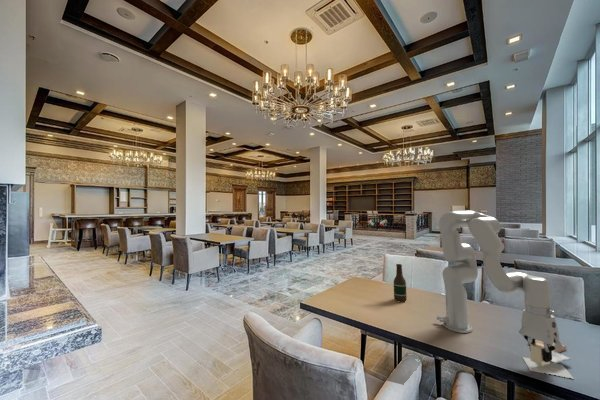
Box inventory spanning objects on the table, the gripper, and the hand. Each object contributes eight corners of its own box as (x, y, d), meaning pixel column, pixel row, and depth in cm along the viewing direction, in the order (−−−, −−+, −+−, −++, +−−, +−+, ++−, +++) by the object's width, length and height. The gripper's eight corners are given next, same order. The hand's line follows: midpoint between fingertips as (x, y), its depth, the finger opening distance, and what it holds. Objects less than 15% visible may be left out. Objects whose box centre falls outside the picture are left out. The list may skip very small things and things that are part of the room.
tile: (553, 350, 106) (566, 345, 109) (528, 339, 114) (540, 335, 117) (553, 355, 106) (566, 350, 109) (528, 344, 114) (540, 340, 117)
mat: (530, 370, 96) (530, 369, 96) (522, 357, 104) (522, 357, 104) (574, 379, 91) (574, 378, 91) (562, 365, 99) (562, 364, 99)
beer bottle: (394, 302, 167) (392, 265, 168) (394, 298, 174) (392, 262, 175) (406, 303, 164) (405, 266, 165) (406, 299, 172) (405, 263, 172)
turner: (545, 367, 94) (544, 350, 94) (527, 359, 99) (527, 343, 100) (571, 360, 99) (570, 344, 99) (552, 353, 104) (552, 338, 104)
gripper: (571, 316, 92) (575, 368, 91) (519, 301, 107) (522, 345, 107) (558, 319, 89) (562, 373, 88) (507, 303, 105) (510, 349, 104)
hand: (540, 357), depth 97 cm, fingers closed on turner, 3 cm apart
